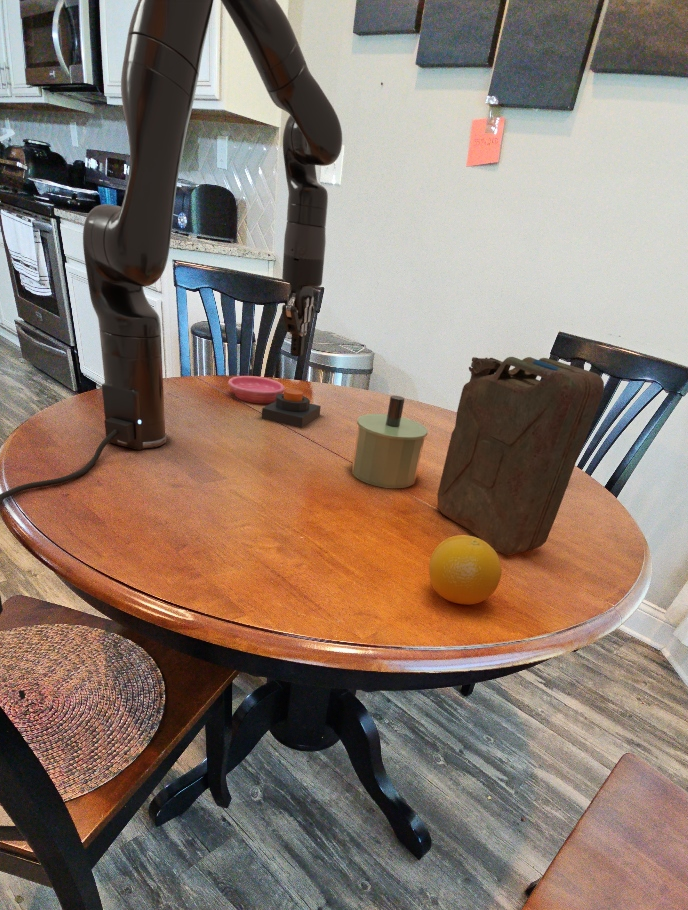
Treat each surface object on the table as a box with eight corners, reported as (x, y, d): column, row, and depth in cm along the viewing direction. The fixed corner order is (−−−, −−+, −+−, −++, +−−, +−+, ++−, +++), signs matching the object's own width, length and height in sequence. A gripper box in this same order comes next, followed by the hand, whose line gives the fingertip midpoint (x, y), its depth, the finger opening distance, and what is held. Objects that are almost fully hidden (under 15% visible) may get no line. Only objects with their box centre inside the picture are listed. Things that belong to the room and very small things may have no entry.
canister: (547, 553, 88) (615, 378, 74) (508, 562, 84) (571, 378, 69) (465, 502, 100) (510, 342, 86) (428, 507, 96) (467, 340, 82)
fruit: (477, 581, 78) (494, 527, 74) (500, 616, 72) (520, 559, 67) (415, 579, 77) (428, 523, 72) (432, 614, 70) (448, 556, 66)
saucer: (286, 408, 130) (287, 393, 129) (229, 403, 128) (229, 388, 126) (280, 392, 140) (281, 378, 138) (227, 387, 137) (227, 373, 135)
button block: (301, 428, 120) (303, 408, 118) (261, 418, 122) (262, 398, 120) (319, 416, 129) (321, 397, 127) (282, 407, 131) (283, 388, 128)
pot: (406, 493, 100) (417, 444, 95) (343, 477, 102) (350, 428, 97) (420, 473, 109) (430, 427, 104) (362, 458, 111) (369, 412, 106)
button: (298, 404, 121) (298, 395, 120) (280, 399, 122) (280, 391, 121) (305, 400, 125) (305, 391, 124) (287, 396, 125) (288, 387, 124)
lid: (418, 449, 95) (425, 413, 91) (347, 432, 97) (352, 397, 93) (432, 430, 104) (439, 397, 101) (367, 415, 106) (372, 382, 103)
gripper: (298, 250, 114) (291, 347, 124) (270, 251, 103) (266, 357, 114) (334, 256, 113) (324, 354, 123) (310, 258, 102) (301, 365, 112)
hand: (296, 355), depth 118 cm, fingers closed
